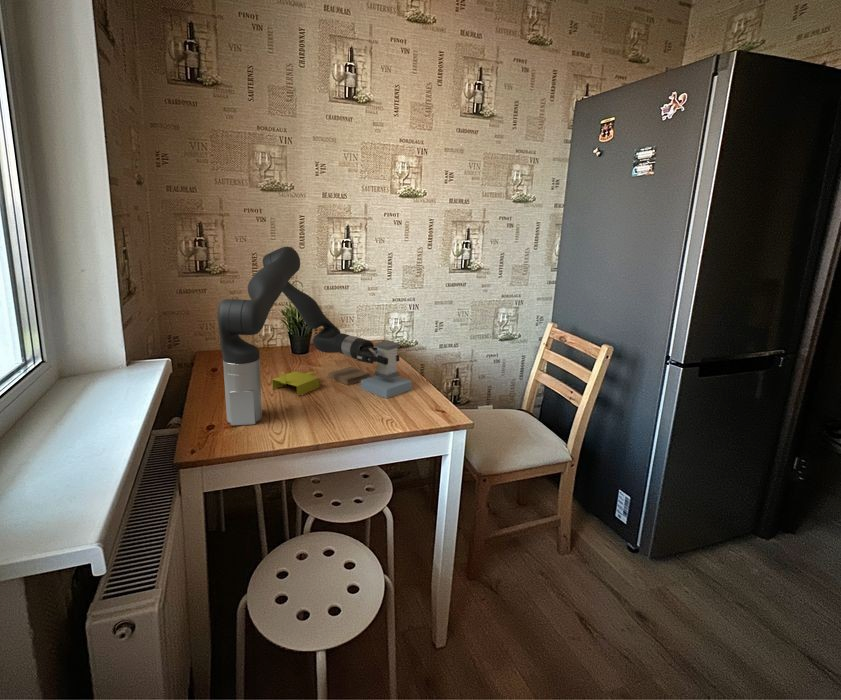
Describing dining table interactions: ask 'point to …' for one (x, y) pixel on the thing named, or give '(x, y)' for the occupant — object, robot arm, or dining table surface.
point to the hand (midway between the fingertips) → (393, 360)
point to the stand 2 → (386, 386)
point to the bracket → (297, 381)
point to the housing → (390, 352)
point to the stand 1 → (349, 375)
